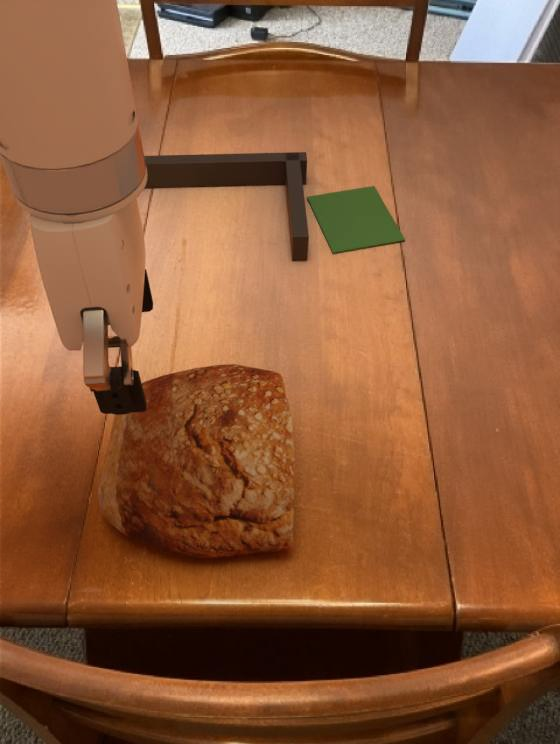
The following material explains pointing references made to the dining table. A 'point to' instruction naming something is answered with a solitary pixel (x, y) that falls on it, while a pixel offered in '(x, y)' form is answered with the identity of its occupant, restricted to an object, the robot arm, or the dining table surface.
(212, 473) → the bread
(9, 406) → the dining table surface
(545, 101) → the dining table surface
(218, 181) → the corner stop
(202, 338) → the dining table surface
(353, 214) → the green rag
